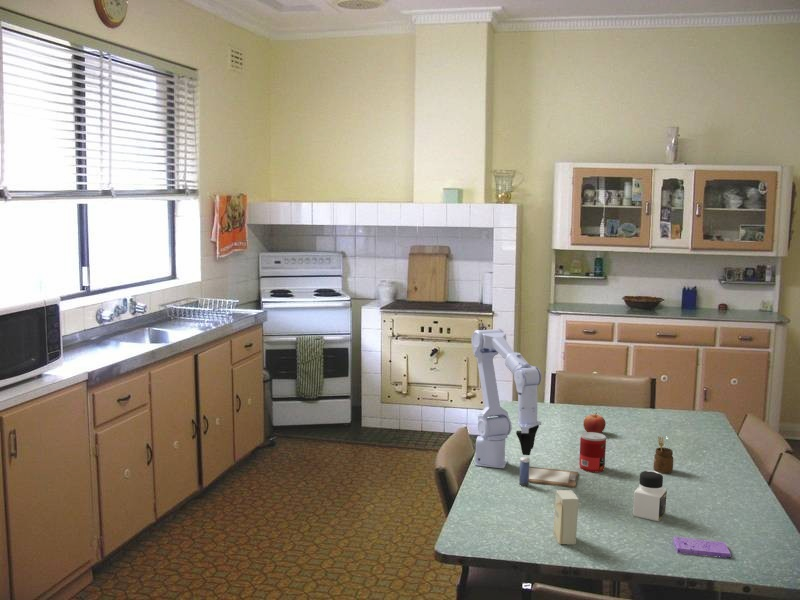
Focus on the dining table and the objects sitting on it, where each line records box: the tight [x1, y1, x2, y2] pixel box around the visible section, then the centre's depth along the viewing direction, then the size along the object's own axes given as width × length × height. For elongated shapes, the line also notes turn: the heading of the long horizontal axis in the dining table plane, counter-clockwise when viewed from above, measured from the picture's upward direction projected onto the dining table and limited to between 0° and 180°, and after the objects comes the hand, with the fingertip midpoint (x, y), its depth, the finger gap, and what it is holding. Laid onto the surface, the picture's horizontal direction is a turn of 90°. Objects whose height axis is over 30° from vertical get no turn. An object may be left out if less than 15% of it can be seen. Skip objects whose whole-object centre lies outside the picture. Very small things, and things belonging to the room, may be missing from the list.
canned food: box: [578, 431, 607, 473], centre depth 254 cm, size 8×8×11 cm
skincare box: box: [552, 489, 580, 546], centre depth 200 cm, size 6×4×12 cm
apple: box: [583, 412, 607, 434], centre depth 293 cm, size 8×8×8 cm
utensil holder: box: [653, 435, 674, 475], centre depth 253 cm, size 6×6×12 cm
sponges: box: [672, 536, 732, 558], centre depth 196 cm, size 7×13×2 cm, turn 78°
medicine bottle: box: [632, 470, 667, 522], centre depth 217 cm, size 7×7×12 cm
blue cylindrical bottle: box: [518, 456, 531, 487], centre depth 239 cm, size 3×3×8 cm
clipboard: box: [529, 466, 579, 488], centre depth 246 cm, size 16×13×1 cm
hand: (527, 451), depth 238 cm, fingers open, 7 cm apart
